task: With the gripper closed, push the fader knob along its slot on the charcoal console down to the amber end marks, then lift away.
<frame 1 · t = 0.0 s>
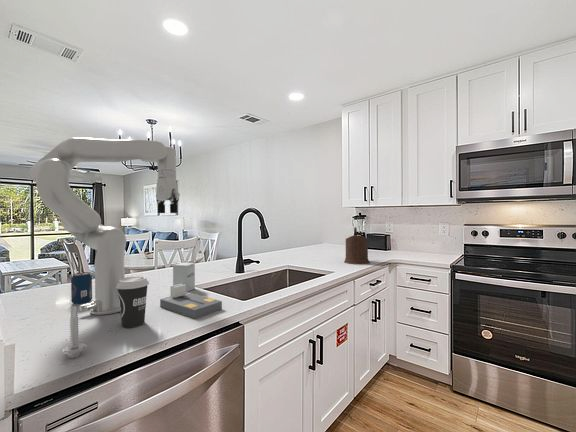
hand: (167, 213, 126), 37 cm above the worktop, tool pointing down, fingers open, 9 cm apart
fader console: (190, 307, 108), on the worktop
coffee cup: (133, 324, 93), on the worktop
fader knob: (178, 290, 113), point 6 cm above the worktop, slide at 0.0 cm
screw: (74, 356, 72), on the worktop
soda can: (82, 303, 116), on the worktop
dark brown bell: (356, 261, 208), on the worktop
supplement box: (184, 290, 133), on the worktop
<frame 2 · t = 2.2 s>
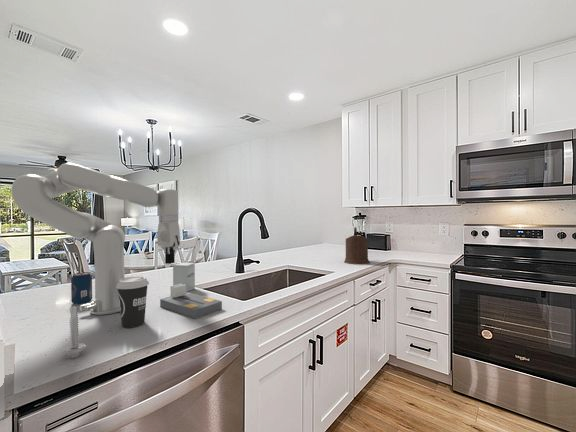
hand: (170, 263, 117), 16 cm above the worktop, tool pointing down, fingers closed
nothing on the worktop moved.
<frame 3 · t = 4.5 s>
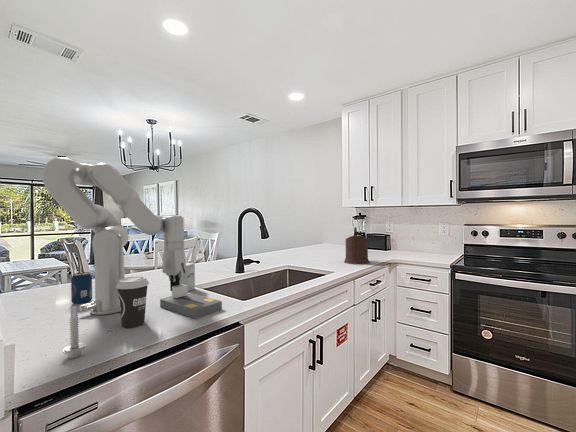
hand: (175, 290, 114), 5 cm above the worktop, tool pointing down, fingers closed
fader knob: (179, 290, 112), point 6 cm above the worktop, slide at 1.1 cm, touching gripper
everything else where it was.
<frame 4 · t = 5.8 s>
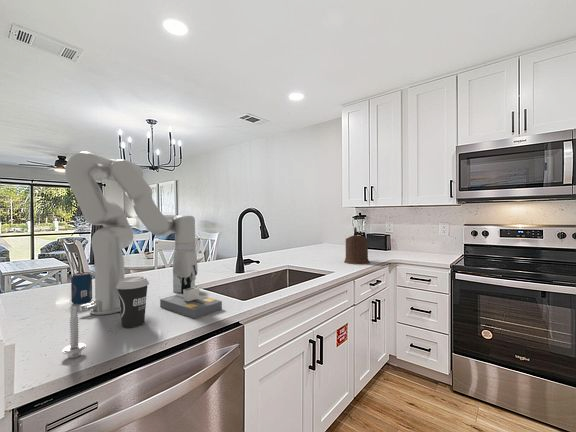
hand: (186, 293, 110), 5 cm above the worktop, tool pointing down, fingers closed
fader knob: (191, 293, 108), point 6 cm above the worktop, slide at 8.6 cm, touching gripper
everything else where it was.
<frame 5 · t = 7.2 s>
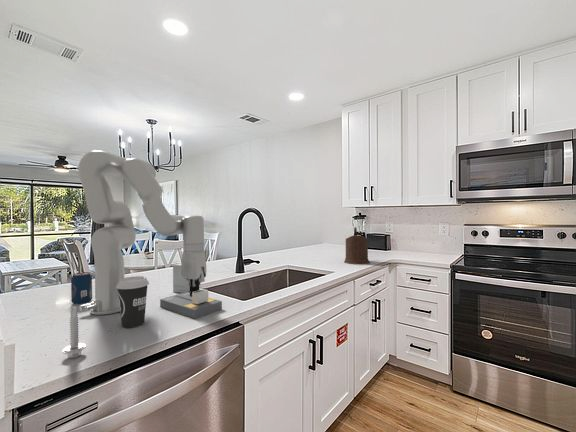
hand: (194, 295, 107), 5 cm above the worktop, tool pointing down, fingers closed
fader knob: (200, 296, 105), point 6 cm above the worktop, slide at 14.0 cm, touching gripper
everything else where it was.
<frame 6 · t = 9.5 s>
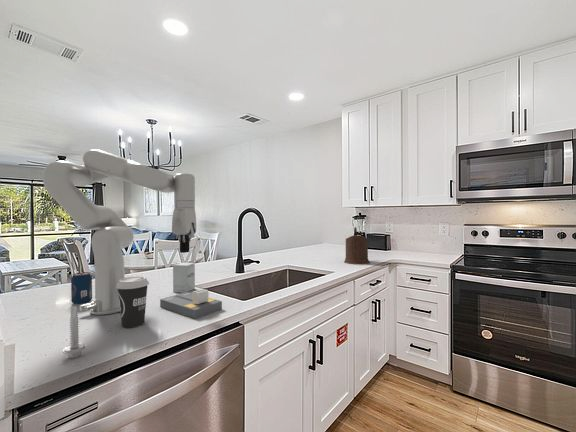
hand: (184, 252, 110), 21 cm above the worktop, tool pointing down, fingers closed
fader knob: (200, 296, 105), point 6 cm above the worktop, slide at 14.1 cm
everything else where it was.
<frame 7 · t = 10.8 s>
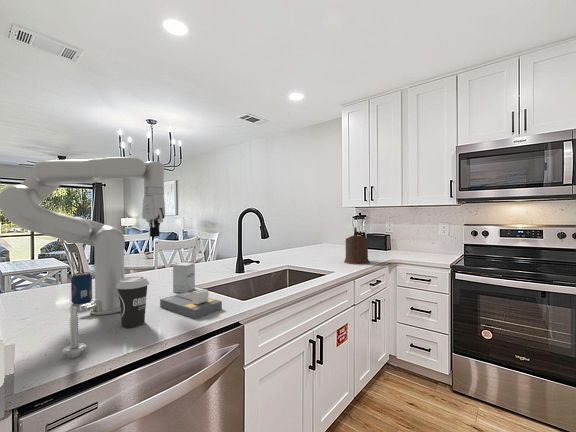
hand: (154, 236, 116), 27 cm above the worktop, tool pointing down, fingers closed
nothing on the worktop moved.
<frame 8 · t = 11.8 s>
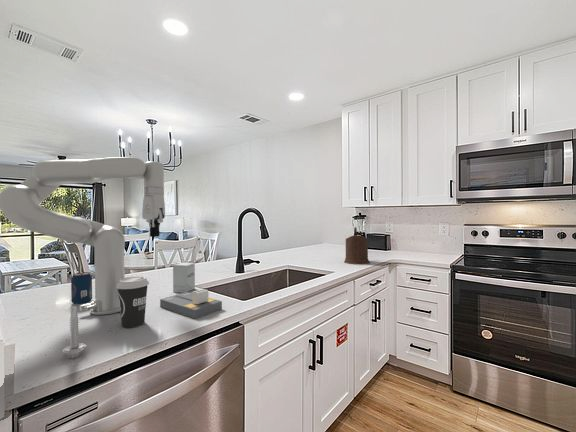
hand: (154, 236, 116), 27 cm above the worktop, tool pointing down, fingers closed
nothing on the worktop moved.
at the end: fader knob slide at 14.1 cm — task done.
